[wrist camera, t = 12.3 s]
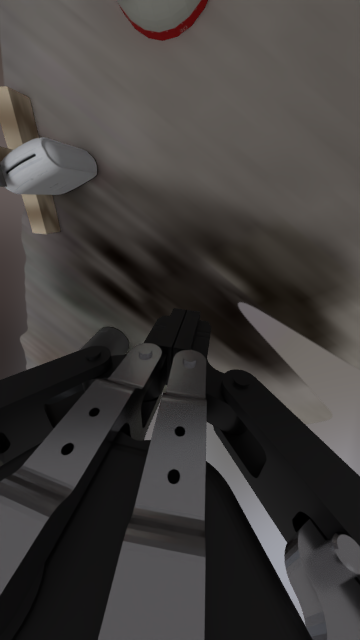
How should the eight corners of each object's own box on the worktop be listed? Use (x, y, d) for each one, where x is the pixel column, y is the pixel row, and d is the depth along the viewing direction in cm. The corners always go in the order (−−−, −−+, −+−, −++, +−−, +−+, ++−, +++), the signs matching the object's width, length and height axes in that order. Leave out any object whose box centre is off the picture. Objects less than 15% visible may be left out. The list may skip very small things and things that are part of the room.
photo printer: (60, 198, 40) (0, 198, 30) (47, 173, 39) (-21, 163, 28) (102, 176, 37) (52, 166, 27) (90, 147, 35) (31, 125, 25)
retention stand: (77, 232, 43) (17, 246, 31) (48, 230, 44) (-22, 242, 32) (51, 97, 33) (-55, 36, 21) (13, 98, 34) (-109, 41, 22)
